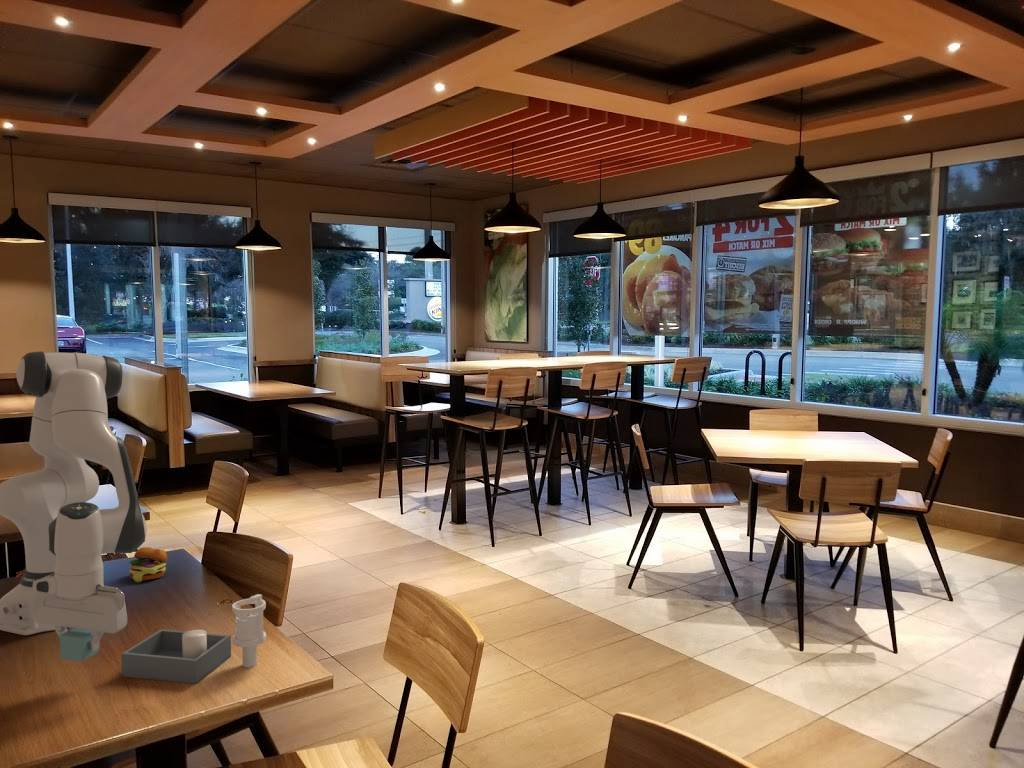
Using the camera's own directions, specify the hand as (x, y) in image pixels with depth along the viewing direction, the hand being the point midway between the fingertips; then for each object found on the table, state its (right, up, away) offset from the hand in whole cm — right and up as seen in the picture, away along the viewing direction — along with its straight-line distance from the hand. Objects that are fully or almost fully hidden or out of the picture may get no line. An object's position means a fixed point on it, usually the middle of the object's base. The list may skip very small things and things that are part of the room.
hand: (79, 647), depth 160 cm
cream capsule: (+20, -7, +10) cm, 23 cm away
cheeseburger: (-19, -3, +70) cm, 73 cm away
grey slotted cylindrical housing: (+32, -8, +12) cm, 35 cm away
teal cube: (0, -2, 0) cm, 2 cm away
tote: (+16, -8, +10) cm, 20 cm away
